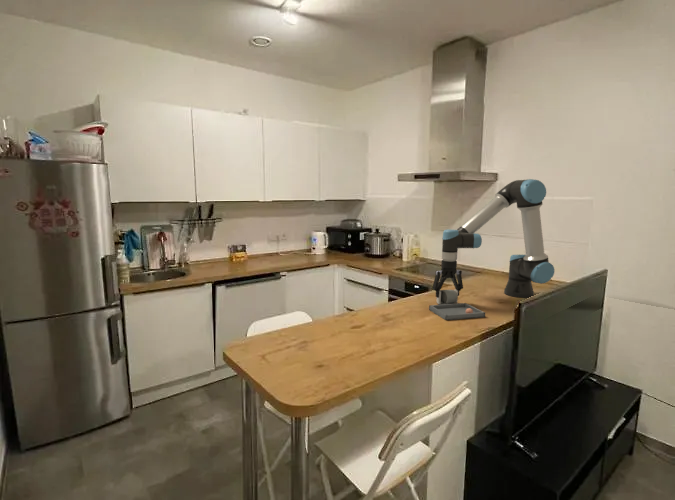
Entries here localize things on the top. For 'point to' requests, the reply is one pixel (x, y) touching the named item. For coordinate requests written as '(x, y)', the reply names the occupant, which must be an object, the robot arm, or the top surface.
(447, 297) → the ceramic mug
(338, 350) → the top surface
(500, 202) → the robot arm
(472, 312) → the ball
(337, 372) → the top surface
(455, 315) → the tray
